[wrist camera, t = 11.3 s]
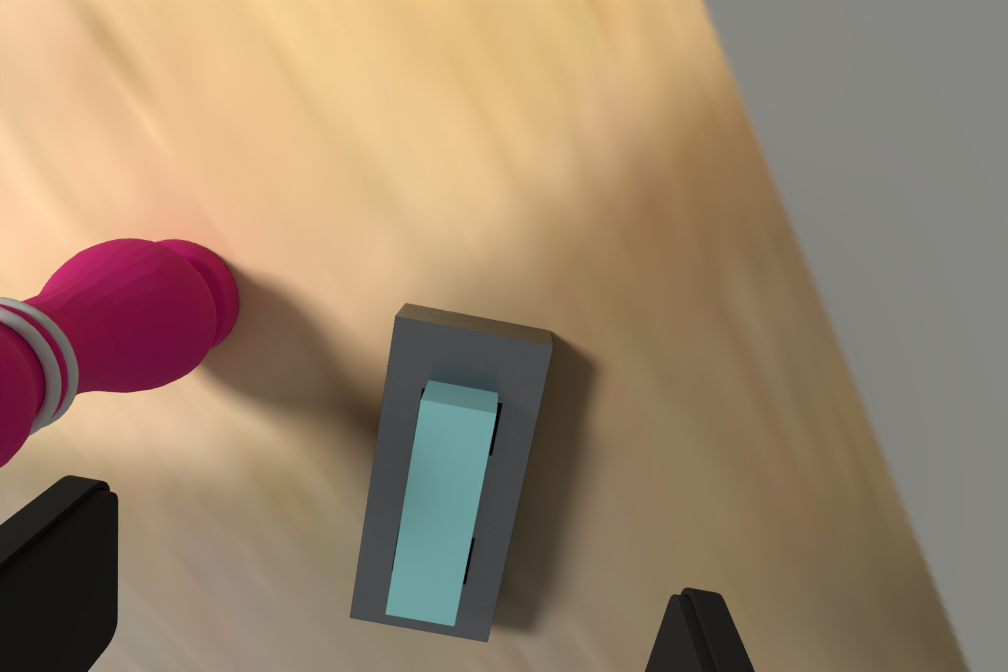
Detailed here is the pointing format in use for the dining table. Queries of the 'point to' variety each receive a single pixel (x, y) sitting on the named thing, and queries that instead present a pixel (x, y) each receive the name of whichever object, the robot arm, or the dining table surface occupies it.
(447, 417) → the clip
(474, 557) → the rail
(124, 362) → the pepper mill
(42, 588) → the robot arm
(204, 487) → the dining table surface
